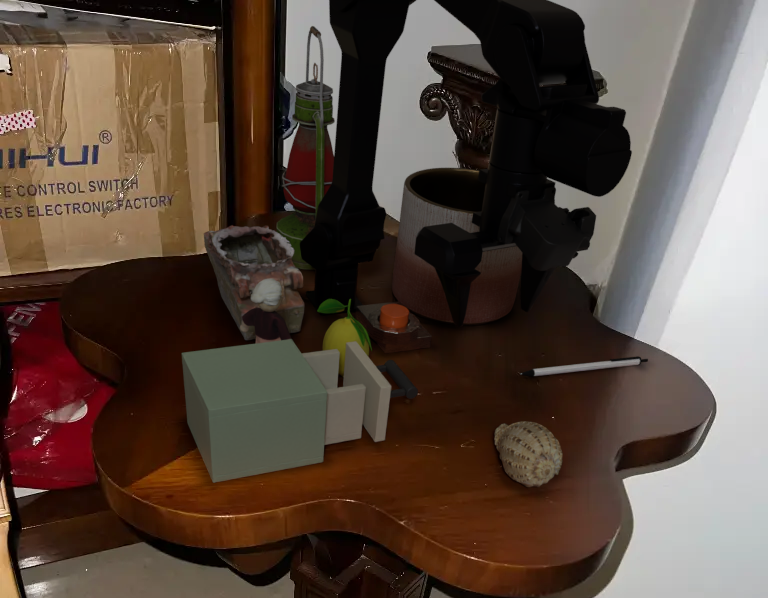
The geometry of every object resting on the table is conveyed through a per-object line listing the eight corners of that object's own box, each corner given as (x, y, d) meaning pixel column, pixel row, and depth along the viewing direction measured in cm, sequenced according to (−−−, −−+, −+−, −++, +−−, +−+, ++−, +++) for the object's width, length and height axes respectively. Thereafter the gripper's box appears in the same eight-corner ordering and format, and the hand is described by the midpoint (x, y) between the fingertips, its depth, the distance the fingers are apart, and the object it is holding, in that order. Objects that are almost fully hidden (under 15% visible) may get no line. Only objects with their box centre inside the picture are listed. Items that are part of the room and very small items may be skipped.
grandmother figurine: (304, 384, 91) (308, 282, 83) (288, 399, 88) (290, 295, 80) (248, 365, 93) (246, 264, 85) (230, 379, 90) (226, 276, 82)
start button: (375, 317, 99) (376, 305, 97) (400, 314, 100) (401, 302, 99) (386, 331, 96) (387, 318, 95) (412, 327, 97) (413, 315, 96)
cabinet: (290, 407, 87) (291, 338, 81) (323, 462, 80) (327, 391, 74) (187, 423, 83) (181, 352, 77) (212, 483, 76) (208, 410, 70)
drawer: (384, 388, 90) (391, 336, 86) (420, 433, 84) (428, 380, 80) (263, 407, 85) (263, 353, 80) (291, 457, 79) (292, 401, 74)
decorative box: (199, 350, 94) (194, 275, 88) (183, 278, 108) (177, 209, 102) (305, 344, 98) (308, 271, 92) (276, 275, 112) (276, 208, 106)
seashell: (471, 479, 85) (534, 497, 77) (465, 426, 83) (529, 439, 75) (523, 460, 88) (589, 476, 80) (519, 409, 86) (586, 420, 78)
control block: (344, 318, 104) (346, 294, 102) (398, 312, 107) (401, 288, 105) (378, 360, 97) (380, 335, 94) (434, 352, 100) (438, 327, 97)
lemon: (314, 361, 95) (318, 285, 88) (361, 361, 96) (368, 285, 90) (321, 391, 90) (326, 312, 84) (371, 390, 91) (379, 312, 85)
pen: (647, 364, 102) (650, 357, 102) (521, 378, 96) (523, 371, 96) (644, 361, 103) (646, 353, 102) (518, 375, 97) (520, 367, 96)
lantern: (353, 273, 115) (370, 42, 95) (283, 275, 112) (285, 38, 93) (331, 236, 125) (343, 20, 105) (266, 237, 122) (265, 15, 102)
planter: (434, 340, 102) (452, 221, 92) (368, 283, 113) (378, 171, 103) (537, 318, 110) (565, 207, 100) (466, 267, 121) (484, 162, 110)
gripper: (494, 201, 64) (467, 368, 74) (650, 181, 72) (607, 333, 82) (419, 163, 71) (404, 320, 81) (569, 148, 79) (539, 292, 89)
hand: (492, 317), depth 83 cm, fingers open, 9 cm apart
